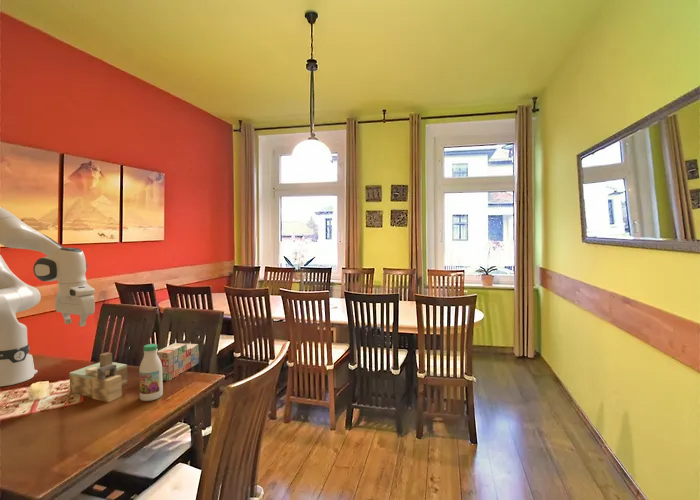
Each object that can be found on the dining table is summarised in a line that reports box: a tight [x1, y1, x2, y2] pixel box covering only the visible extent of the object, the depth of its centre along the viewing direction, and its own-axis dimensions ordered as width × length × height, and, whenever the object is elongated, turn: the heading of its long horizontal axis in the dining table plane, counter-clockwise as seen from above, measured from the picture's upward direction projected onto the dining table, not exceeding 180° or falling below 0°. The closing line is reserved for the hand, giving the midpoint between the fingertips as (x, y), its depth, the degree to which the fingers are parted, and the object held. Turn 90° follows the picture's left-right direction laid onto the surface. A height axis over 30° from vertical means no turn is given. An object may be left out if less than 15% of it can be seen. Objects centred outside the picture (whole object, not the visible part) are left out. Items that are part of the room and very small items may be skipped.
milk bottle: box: [138, 343, 164, 402], centre depth 139 cm, size 8×8×20 cm
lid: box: [69, 351, 128, 379], centre depth 147 cm, size 13×14×6 cm
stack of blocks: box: [157, 342, 200, 382], centre depth 165 cm, size 21×6×12 cm, turn 169°
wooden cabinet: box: [69, 364, 128, 403], centre depth 145 cm, size 22×15×12 cm
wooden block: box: [85, 367, 110, 377], centre depth 140 cm, size 9×3×2 cm, turn 71°
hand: (75, 324), depth 142 cm, fingers open, 8 cm apart
